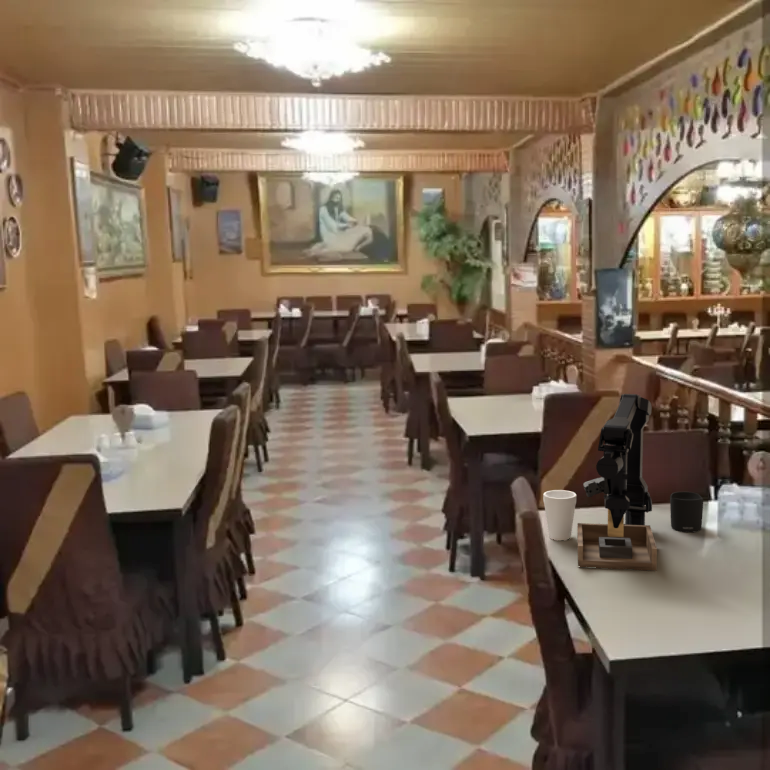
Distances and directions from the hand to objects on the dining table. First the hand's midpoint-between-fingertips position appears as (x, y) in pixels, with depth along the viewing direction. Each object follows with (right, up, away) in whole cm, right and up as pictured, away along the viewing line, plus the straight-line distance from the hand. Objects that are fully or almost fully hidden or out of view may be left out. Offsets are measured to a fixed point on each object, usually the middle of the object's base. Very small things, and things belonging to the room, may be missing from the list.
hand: (615, 525), depth 241 cm
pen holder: (+27, -5, +24) cm, 37 cm away
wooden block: (0, -3, 0) cm, 2 cm away
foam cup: (-11, -7, +19) cm, 23 cm away
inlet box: (0, -9, +1) cm, 9 cm away
